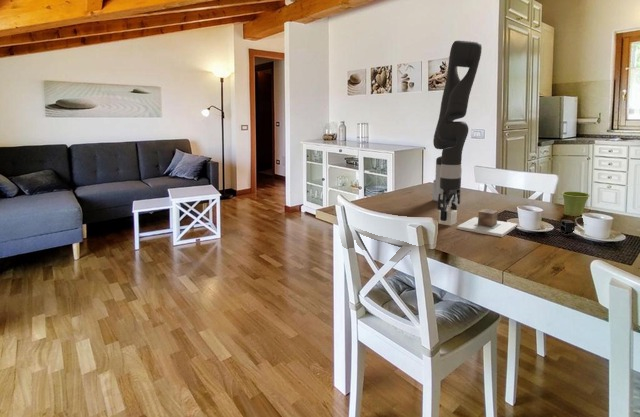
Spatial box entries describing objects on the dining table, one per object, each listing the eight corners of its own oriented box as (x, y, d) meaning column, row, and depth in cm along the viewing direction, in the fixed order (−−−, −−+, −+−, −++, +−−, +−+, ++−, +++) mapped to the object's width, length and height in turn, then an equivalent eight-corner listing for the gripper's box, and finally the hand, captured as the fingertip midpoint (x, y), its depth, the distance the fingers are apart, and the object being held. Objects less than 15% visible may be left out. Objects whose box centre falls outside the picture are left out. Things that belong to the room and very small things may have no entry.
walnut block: (477, 224, 153) (478, 211, 152) (483, 221, 157) (483, 208, 155) (491, 227, 150) (492, 213, 149) (496, 224, 153) (497, 210, 152)
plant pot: (591, 218, 163) (594, 196, 161) (564, 217, 164) (567, 196, 162) (581, 212, 172) (583, 191, 169) (556, 211, 173) (558, 191, 171)
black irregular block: (548, 228, 153) (549, 216, 151) (569, 228, 152) (571, 216, 151) (563, 239, 141) (565, 226, 140) (587, 239, 140) (588, 226, 139)
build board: (457, 228, 153) (457, 225, 153) (474, 219, 164) (474, 216, 164) (502, 237, 142) (502, 233, 142) (517, 226, 154) (517, 223, 154)
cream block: (438, 223, 160) (439, 211, 159) (444, 220, 164) (444, 208, 163) (450, 226, 157) (451, 213, 156) (456, 223, 161) (457, 210, 159)
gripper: (452, 179, 148) (449, 223, 152) (468, 174, 159) (465, 216, 162) (432, 177, 153) (430, 220, 157) (449, 172, 164) (447, 213, 167)
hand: (448, 218), depth 160 cm, fingers open, 8 cm apart
